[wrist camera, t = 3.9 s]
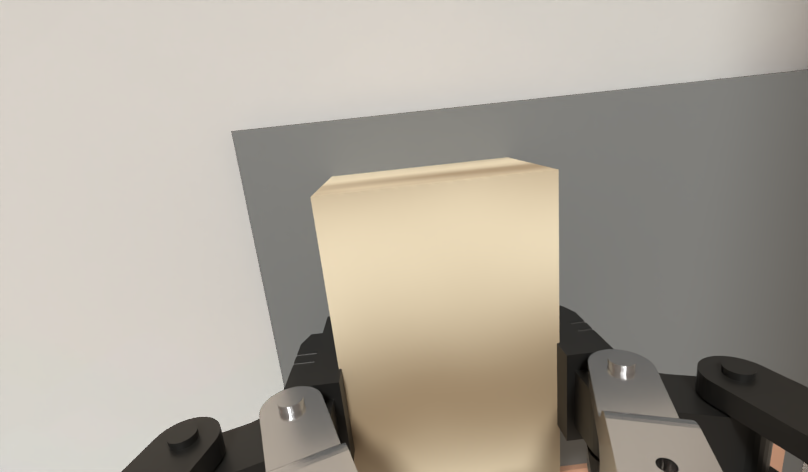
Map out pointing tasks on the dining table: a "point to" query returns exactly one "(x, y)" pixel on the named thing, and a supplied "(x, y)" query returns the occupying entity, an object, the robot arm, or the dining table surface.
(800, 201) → the mat
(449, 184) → the block
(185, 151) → the dining table surface
